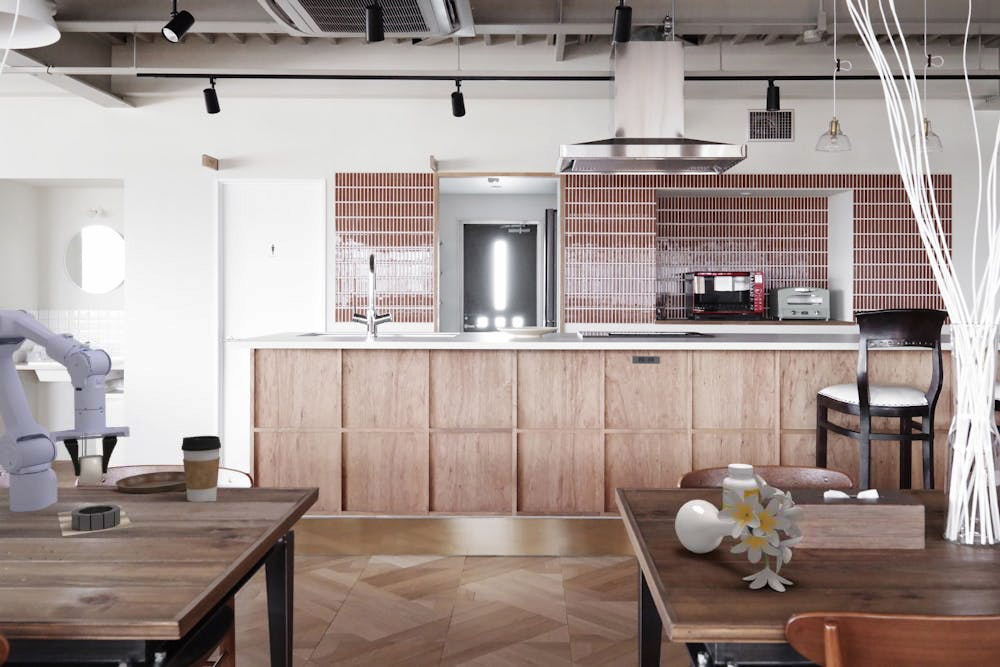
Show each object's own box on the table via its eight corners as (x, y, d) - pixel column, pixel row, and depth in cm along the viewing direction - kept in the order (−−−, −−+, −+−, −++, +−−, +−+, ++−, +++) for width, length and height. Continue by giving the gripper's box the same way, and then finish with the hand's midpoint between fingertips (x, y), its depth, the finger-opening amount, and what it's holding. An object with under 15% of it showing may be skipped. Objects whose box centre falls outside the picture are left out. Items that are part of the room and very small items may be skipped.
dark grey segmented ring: (86, 519, 159) (85, 504, 159) (127, 519, 159) (127, 504, 159) (62, 531, 150) (62, 515, 150) (106, 531, 150) (106, 515, 150)
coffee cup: (173, 505, 174) (172, 438, 174) (201, 497, 182) (200, 432, 182) (203, 508, 171) (202, 440, 171) (230, 500, 179) (229, 434, 179)
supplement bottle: (760, 528, 155) (760, 464, 155) (756, 537, 149) (756, 470, 149) (725, 525, 158) (725, 461, 158) (720, 533, 152) (720, 467, 152)
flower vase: (678, 591, 139) (771, 602, 117) (647, 489, 142) (733, 481, 119) (735, 568, 144) (835, 575, 122) (704, 470, 147) (797, 459, 124)
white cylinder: (86, 478, 165) (85, 454, 165) (107, 478, 165) (106, 454, 165) (74, 483, 160) (74, 458, 160) (96, 483, 160) (95, 458, 160)
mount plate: (57, 517, 164) (57, 512, 164) (120, 509, 170) (120, 505, 170) (62, 541, 147) (62, 535, 147) (133, 531, 153) (133, 526, 153)
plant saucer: (107, 501, 179) (107, 488, 179) (124, 485, 196) (124, 472, 196) (190, 497, 183) (190, 484, 183) (199, 481, 200) (199, 469, 200)
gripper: (50, 413, 155) (51, 481, 155) (131, 408, 163) (131, 473, 163) (48, 409, 161) (50, 475, 161) (126, 404, 169) (127, 467, 169)
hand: (91, 474), depth 163 cm, fingers closed on white cylinder, 4 cm apart
